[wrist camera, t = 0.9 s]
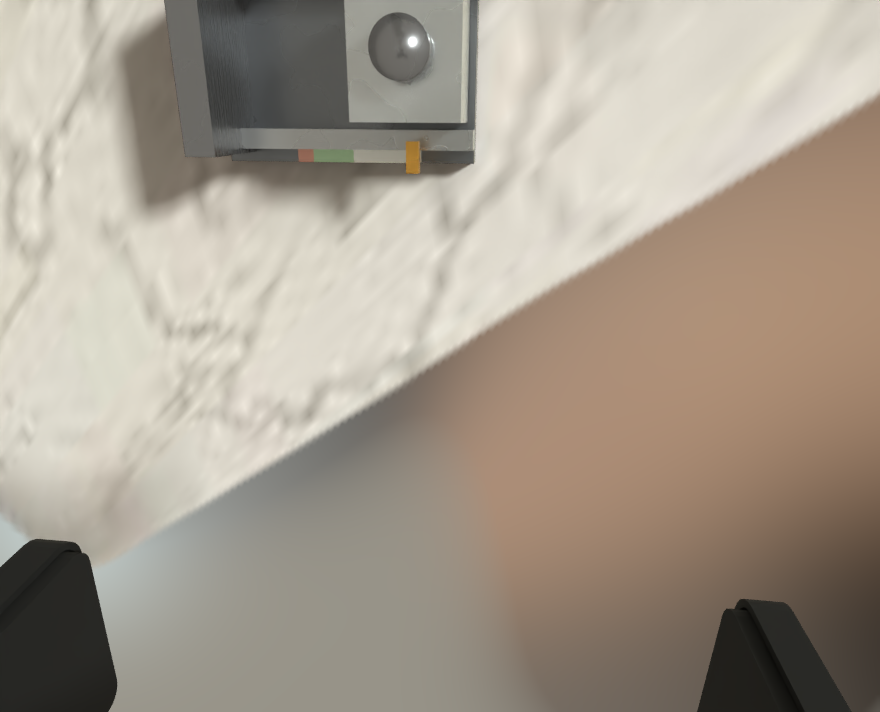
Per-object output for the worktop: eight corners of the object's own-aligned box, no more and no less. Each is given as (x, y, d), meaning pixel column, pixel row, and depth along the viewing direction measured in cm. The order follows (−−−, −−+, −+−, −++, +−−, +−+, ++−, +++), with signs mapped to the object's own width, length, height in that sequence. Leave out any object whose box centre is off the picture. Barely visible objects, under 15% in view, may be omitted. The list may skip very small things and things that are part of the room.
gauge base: (479, -41, 26) (474, -83, 20) (474, 161, 28) (469, 171, 23) (221, -38, 26) (153, -76, 21) (242, 158, 29) (186, 167, 24)
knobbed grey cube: (470, -1, 25) (461, -37, 19) (466, 168, 27) (457, 182, 21) (371, 0, 25) (333, -35, 19) (376, 167, 28) (344, 180, 22)
